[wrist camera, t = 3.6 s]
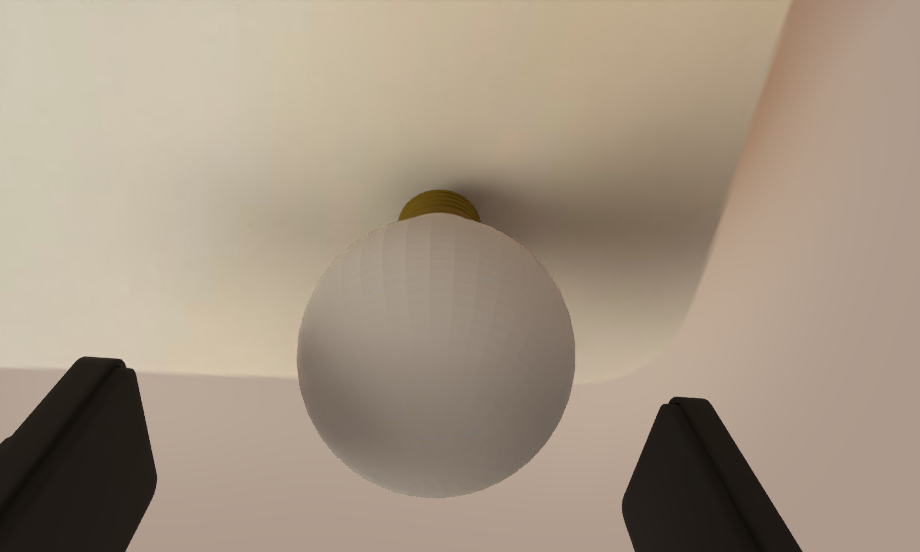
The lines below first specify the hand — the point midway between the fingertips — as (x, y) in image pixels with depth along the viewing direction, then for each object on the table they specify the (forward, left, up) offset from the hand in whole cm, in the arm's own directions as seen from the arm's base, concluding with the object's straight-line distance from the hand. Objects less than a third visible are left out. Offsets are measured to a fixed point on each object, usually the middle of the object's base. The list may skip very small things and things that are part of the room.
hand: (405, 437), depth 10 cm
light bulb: (-1, 0, -10) cm, 10 cm away
